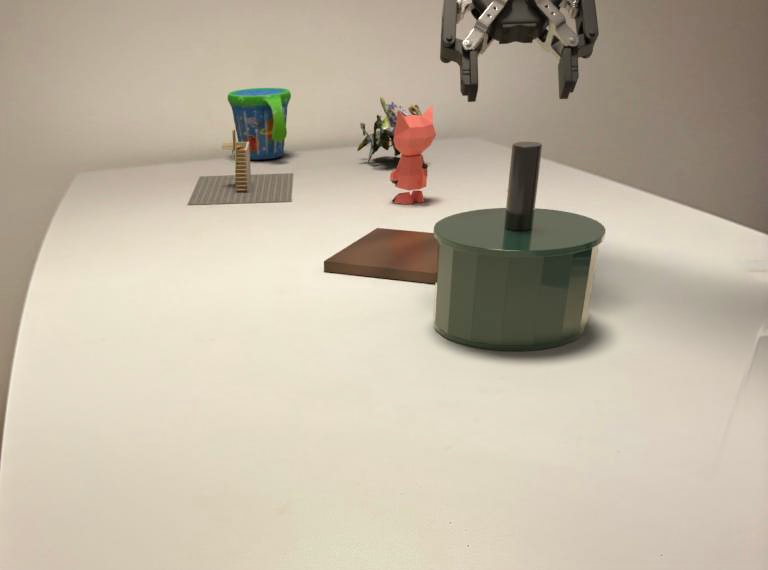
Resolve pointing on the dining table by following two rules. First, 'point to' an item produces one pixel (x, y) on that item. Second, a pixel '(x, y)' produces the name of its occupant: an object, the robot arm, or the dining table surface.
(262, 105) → the snack cup
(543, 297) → the pot
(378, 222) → the dining table surface
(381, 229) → the board
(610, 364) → the dining table surface
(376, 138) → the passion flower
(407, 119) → the cat figurine
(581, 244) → the lid
